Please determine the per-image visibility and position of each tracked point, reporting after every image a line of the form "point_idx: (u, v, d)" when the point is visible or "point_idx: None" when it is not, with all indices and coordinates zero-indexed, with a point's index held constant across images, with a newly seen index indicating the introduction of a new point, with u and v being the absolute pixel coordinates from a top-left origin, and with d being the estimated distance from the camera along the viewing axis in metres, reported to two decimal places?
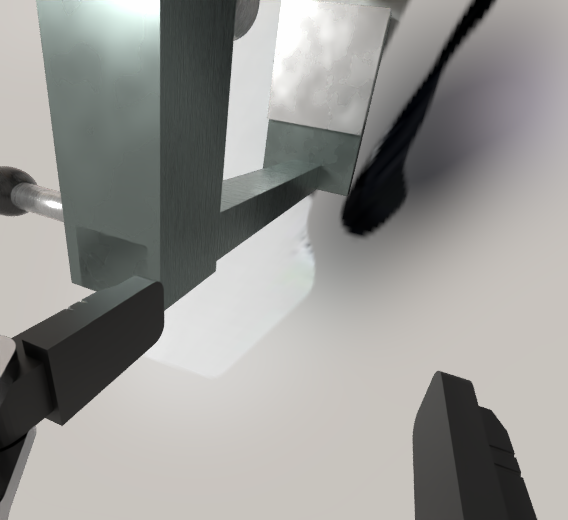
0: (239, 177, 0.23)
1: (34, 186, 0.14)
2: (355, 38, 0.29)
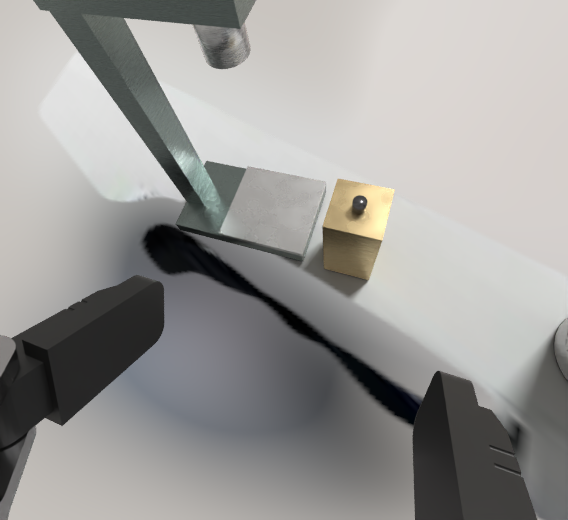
0: (163, 95, 0.29)
1: None
2: (288, 230, 0.37)
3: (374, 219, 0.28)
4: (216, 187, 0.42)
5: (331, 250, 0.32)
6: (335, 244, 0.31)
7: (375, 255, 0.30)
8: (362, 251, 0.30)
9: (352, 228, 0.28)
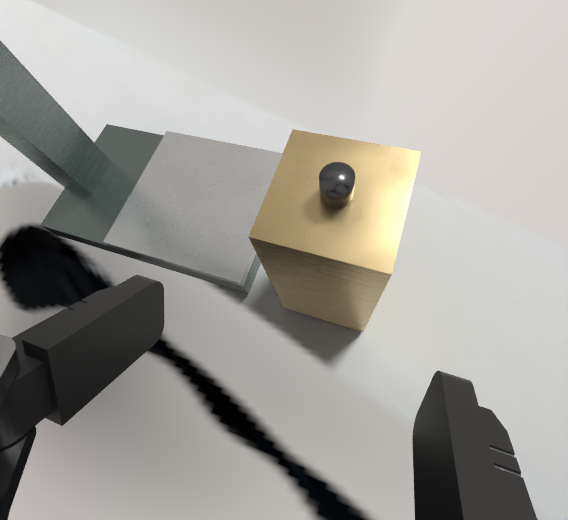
0: None
1: None
2: (220, 238, 0.21)
3: (373, 221, 0.11)
4: (115, 165, 0.25)
5: (285, 284, 0.16)
6: (288, 274, 0.14)
7: (374, 300, 0.14)
8: (345, 291, 0.14)
9: (318, 243, 0.11)
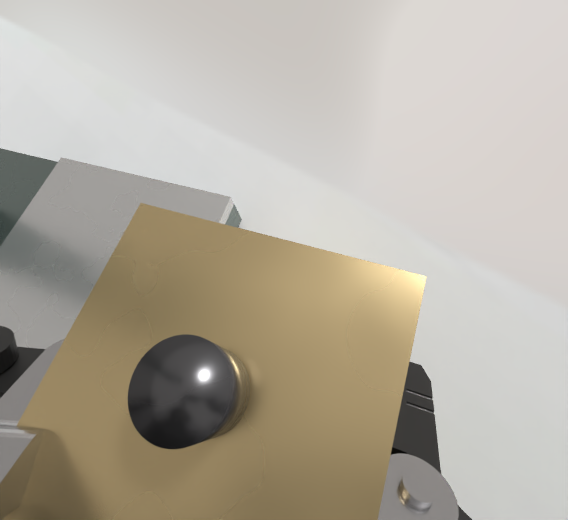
0: None
1: None
2: None
3: (292, 499, 0.04)
4: None
5: None
6: None
7: None
8: None
9: None
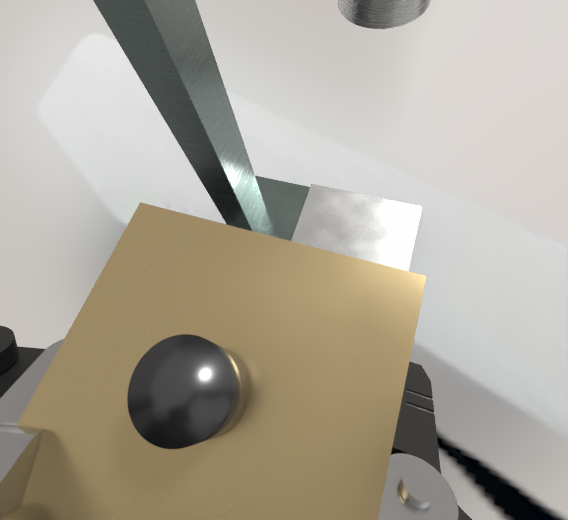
0: (221, 86, 0.19)
1: None
2: None
3: (293, 499, 0.04)
4: (269, 211, 0.31)
5: None
6: None
7: None
8: None
9: None
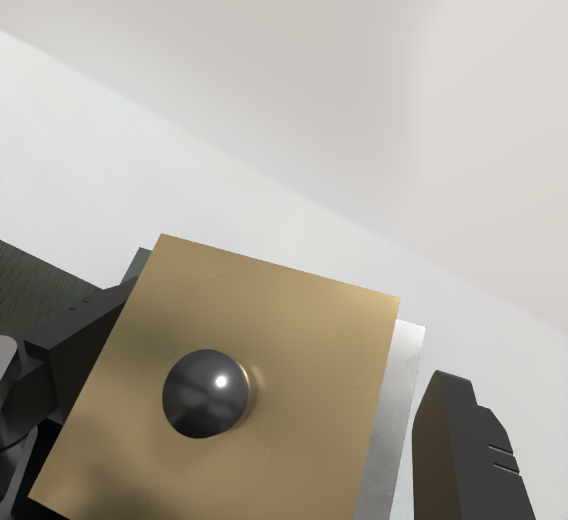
0: None
1: None
2: None
3: (291, 479, 0.05)
4: None
5: None
6: None
7: None
8: None
9: None
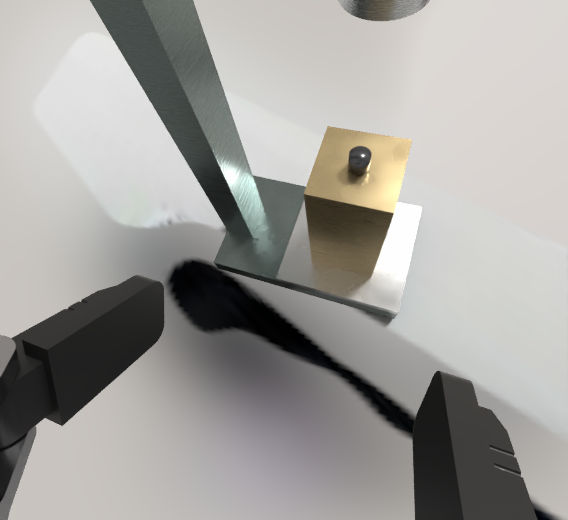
0: (218, 83, 0.18)
1: None
2: (374, 275, 0.27)
3: (382, 183, 0.18)
4: (267, 211, 0.31)
5: (319, 234, 0.23)
6: (324, 223, 0.21)
7: (382, 239, 0.21)
8: (363, 234, 0.21)
9: (348, 197, 0.18)
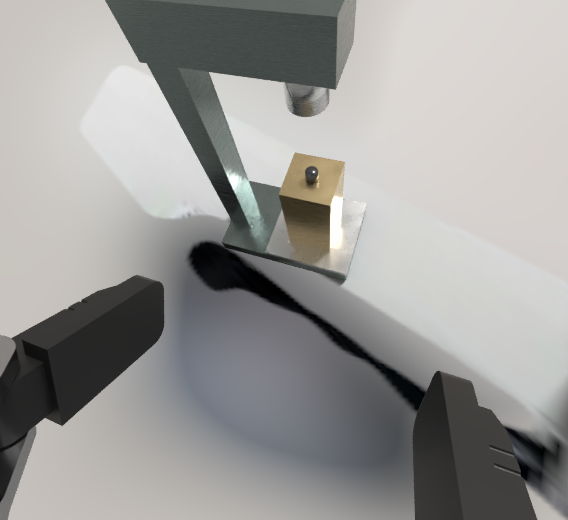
0: (227, 128, 0.31)
1: None
2: (332, 250, 0.39)
3: (325, 188, 0.31)
4: (259, 207, 0.43)
5: (291, 220, 0.35)
6: (293, 213, 0.34)
7: (329, 222, 0.33)
8: (317, 219, 0.33)
9: (304, 196, 0.31)
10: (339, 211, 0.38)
